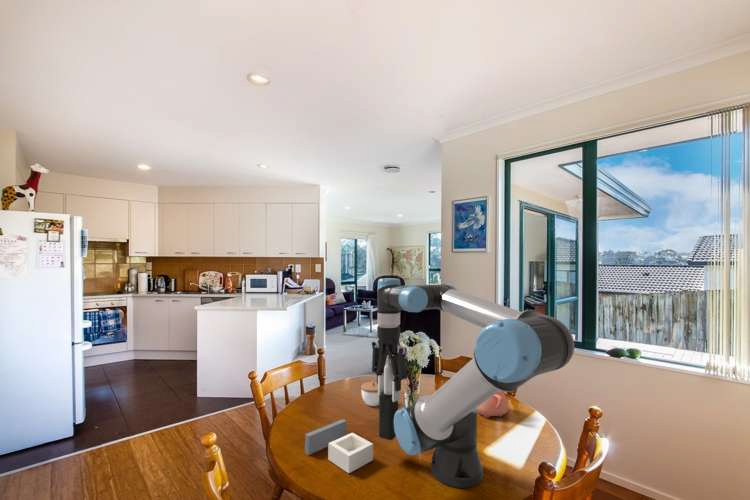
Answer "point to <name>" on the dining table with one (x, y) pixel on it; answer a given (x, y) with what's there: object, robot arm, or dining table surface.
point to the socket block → (350, 452)
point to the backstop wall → (324, 436)
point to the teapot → (494, 405)
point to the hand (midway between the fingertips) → (388, 397)
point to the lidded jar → (370, 393)
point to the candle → (387, 406)
